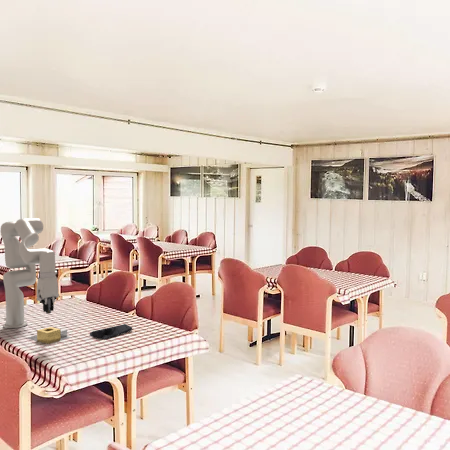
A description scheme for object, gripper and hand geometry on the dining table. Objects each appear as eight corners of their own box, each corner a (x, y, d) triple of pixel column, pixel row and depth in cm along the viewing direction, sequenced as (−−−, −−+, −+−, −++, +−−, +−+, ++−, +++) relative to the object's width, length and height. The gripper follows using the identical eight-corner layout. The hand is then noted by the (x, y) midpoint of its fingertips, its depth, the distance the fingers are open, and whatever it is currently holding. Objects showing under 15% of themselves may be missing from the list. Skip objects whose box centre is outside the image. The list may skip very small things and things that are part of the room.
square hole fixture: (26, 340, 248) (25, 328, 248) (51, 333, 261) (50, 322, 260) (48, 347, 238) (47, 334, 238) (72, 339, 251) (72, 327, 250)
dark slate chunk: (136, 332, 266) (136, 323, 266) (102, 341, 249) (102, 332, 249) (119, 327, 276) (119, 319, 276) (86, 335, 259) (85, 326, 259)
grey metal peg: (45, 313, 244) (44, 297, 244) (49, 312, 246) (48, 296, 246) (47, 313, 243) (47, 298, 243) (52, 312, 245) (51, 297, 245)
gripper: (56, 272, 252) (57, 307, 253) (28, 276, 239) (29, 313, 240) (65, 273, 248) (66, 308, 249) (38, 277, 235) (39, 315, 236)
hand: (48, 310), depth 245 cm, fingers closed on grey metal peg, 2 cm apart
